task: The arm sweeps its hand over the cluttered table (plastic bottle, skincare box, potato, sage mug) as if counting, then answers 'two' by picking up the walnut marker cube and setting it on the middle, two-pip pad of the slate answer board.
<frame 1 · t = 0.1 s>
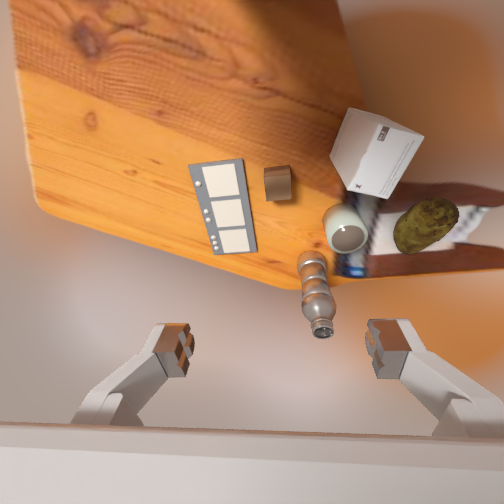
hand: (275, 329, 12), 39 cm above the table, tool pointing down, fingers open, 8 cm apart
marker cube: (277, 178, 47), on the table
skincare box: (353, 135, 42), on the table
sage mug: (339, 218, 52), on the table
plastic bottle: (309, 257, 59), on the table
answer board: (226, 211, 52), on the table
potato: (411, 216, 51), on the table
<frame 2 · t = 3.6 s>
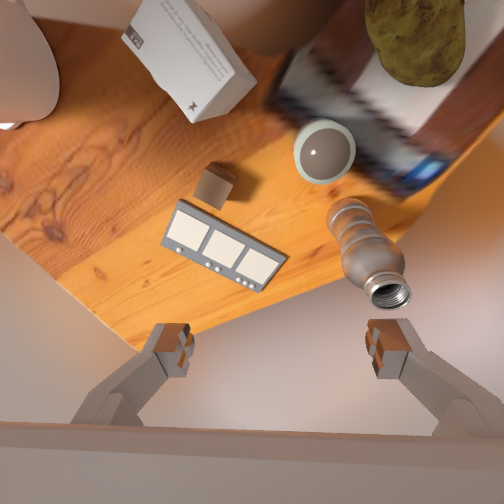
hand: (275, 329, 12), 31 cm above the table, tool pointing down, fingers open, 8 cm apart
marker cube: (219, 181, 40), on the table
skincare box: (220, 71, 32), on the table
sage mug: (317, 145, 36), on the table
plastic bottle: (345, 212, 41), on the table
answer board: (223, 249, 47), on the table
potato: (399, 37, 29), on the table
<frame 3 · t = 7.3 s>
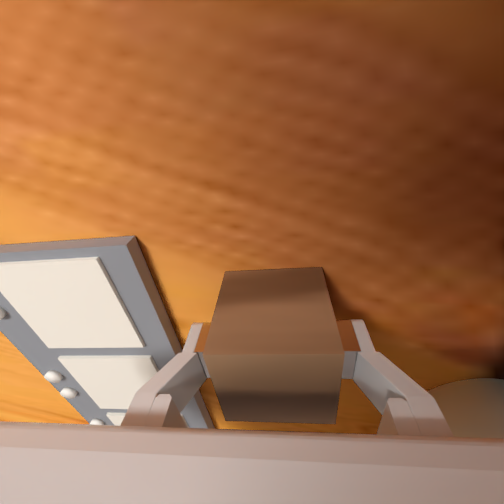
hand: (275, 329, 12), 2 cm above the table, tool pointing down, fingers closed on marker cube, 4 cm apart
marker cube: (275, 304, 13), on the table, touching gripper
sage mug: (466, 408, 17), on the table
answer board: (122, 372, 18), on the table
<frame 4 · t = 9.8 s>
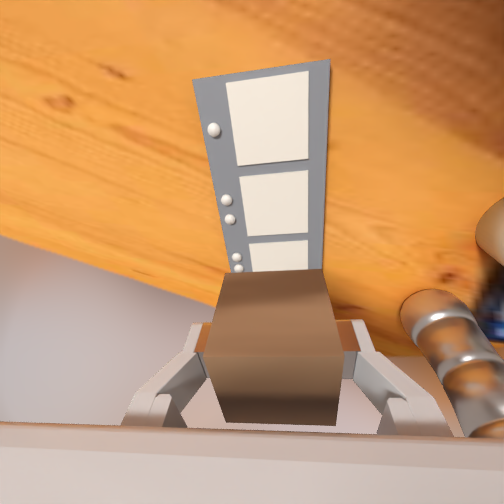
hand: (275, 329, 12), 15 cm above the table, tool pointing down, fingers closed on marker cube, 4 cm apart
marker cube: (275, 305, 13), point 14 cm above the table, touching gripper
plastic bottle: (422, 301, 30), on the table
answer board: (270, 202, 24), on the table
when the fingers open (4 cm above the table, at t = 12.1 s): marker cube drops 1 cm, resting on answer board.
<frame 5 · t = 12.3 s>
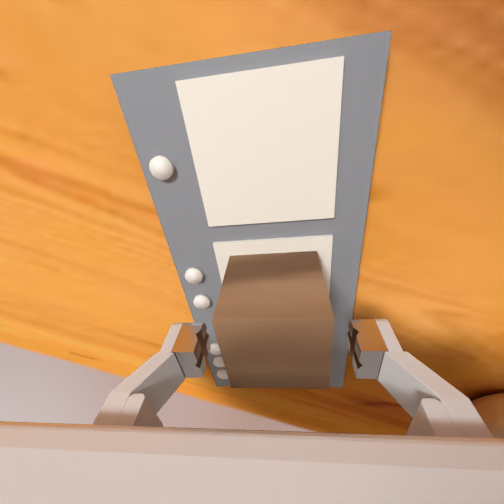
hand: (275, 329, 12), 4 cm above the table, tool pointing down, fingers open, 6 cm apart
marker cube: (275, 286, 14), point 1 cm above the table, touching answer board
plastic bottle: (489, 400, 21), on the table
answer board: (266, 275, 15), on the table
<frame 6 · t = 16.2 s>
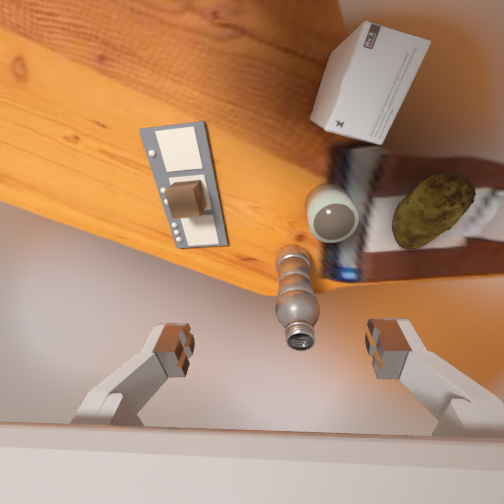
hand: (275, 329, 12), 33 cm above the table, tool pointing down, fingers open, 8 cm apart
marker cube: (190, 194, 42), point 1 cm above the table, touching answer board
skincare box: (338, 91, 34), on the table
sage mug: (326, 203, 43), on the table
plastic bottle: (291, 254, 49), on the table
answer board: (189, 192, 43), on the table
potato: (413, 203, 42), on the table
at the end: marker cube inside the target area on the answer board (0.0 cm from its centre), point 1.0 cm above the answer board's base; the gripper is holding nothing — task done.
